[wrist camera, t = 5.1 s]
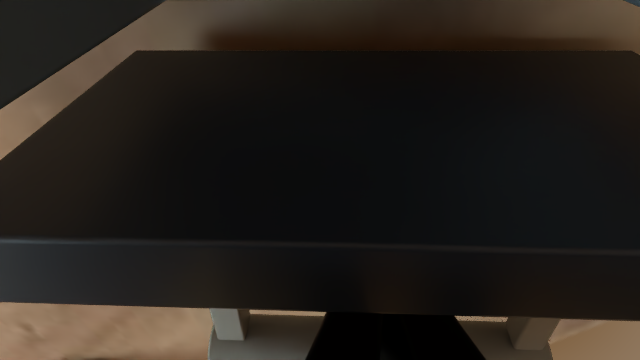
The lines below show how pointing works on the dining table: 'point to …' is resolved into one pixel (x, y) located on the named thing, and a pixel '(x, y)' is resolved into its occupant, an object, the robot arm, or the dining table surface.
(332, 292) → the drawer
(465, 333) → the robot arm
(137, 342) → the dining table surface
